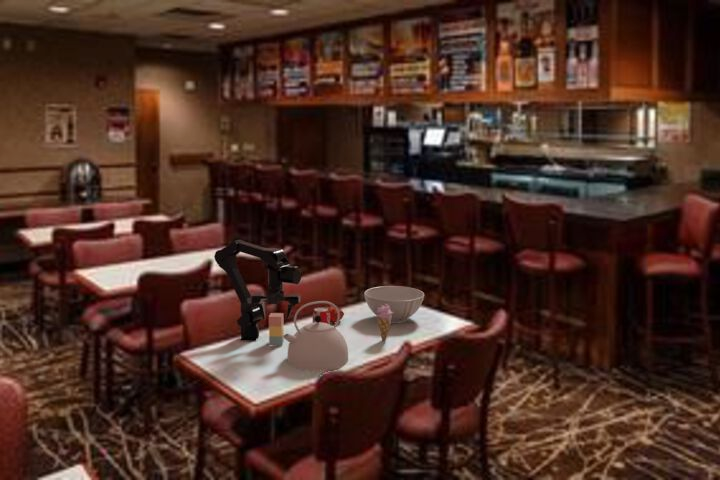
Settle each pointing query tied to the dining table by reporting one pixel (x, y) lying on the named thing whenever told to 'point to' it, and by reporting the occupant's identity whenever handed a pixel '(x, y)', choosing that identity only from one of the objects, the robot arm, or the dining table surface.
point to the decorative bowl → (395, 301)
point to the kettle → (317, 345)
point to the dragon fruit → (334, 314)
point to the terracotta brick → (276, 319)
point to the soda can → (322, 315)
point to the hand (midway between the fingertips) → (276, 319)
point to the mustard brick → (276, 331)
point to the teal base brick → (276, 340)
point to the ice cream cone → (384, 320)
